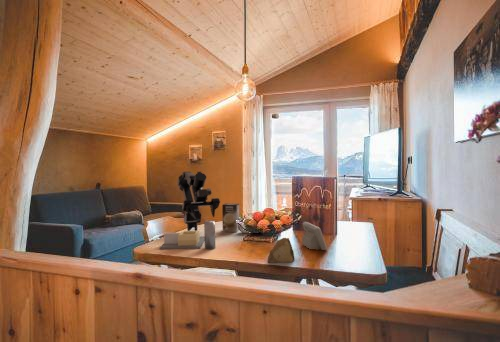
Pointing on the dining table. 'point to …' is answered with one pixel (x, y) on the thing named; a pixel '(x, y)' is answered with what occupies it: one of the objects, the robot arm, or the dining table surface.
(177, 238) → the grey plate with frame
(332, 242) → the dining table surface
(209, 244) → the hinge pin
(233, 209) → the coffee box
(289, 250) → the rock
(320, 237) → the grey angular slab
